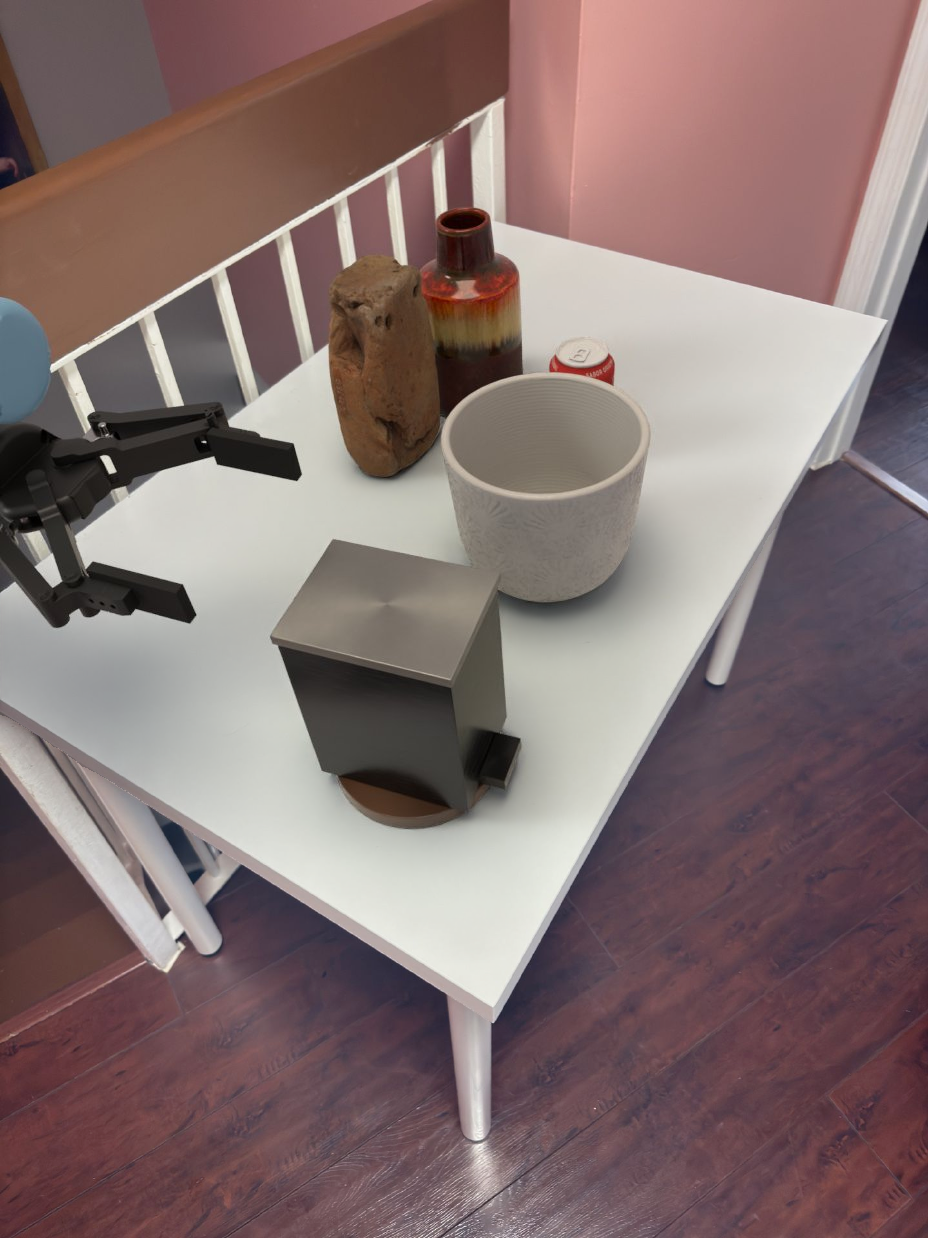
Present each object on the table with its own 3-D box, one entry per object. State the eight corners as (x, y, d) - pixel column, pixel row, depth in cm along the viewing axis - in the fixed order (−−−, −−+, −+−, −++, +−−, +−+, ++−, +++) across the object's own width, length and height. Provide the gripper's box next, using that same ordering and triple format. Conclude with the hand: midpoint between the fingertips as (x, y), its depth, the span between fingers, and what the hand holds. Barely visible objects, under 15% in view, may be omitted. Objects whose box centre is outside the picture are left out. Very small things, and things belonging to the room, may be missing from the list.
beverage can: (564, 428, 99) (564, 328, 90) (619, 441, 97) (625, 340, 88) (540, 461, 95) (538, 361, 86) (596, 476, 93) (600, 374, 84)
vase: (434, 369, 108) (415, 196, 93) (525, 367, 107) (520, 191, 92) (424, 423, 101) (401, 246, 86) (521, 422, 100) (515, 242, 85)
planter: (661, 526, 87) (676, 391, 76) (602, 653, 77) (610, 519, 66) (499, 488, 93) (490, 356, 82) (425, 601, 83) (404, 470, 72)
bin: (493, 823, 66) (479, 687, 54) (317, 772, 70) (269, 636, 58) (532, 720, 71) (527, 577, 60) (367, 679, 75) (332, 538, 64)
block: (393, 415, 103) (366, 243, 88) (450, 432, 100) (432, 256, 85) (339, 471, 97) (299, 296, 82) (398, 490, 94) (369, 312, 79)
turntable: (370, 856, 66) (367, 846, 65) (314, 726, 75) (310, 716, 73) (529, 785, 69) (528, 774, 68) (458, 668, 78) (456, 657, 76)
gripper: (110, 410, 74) (342, 455, 68) (-116, 632, 60) (153, 716, 53) (74, 327, 69) (322, 368, 62) (-186, 550, 54) (105, 633, 48)
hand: (245, 528), depth 58 cm, fingers open, 13 cm apart
